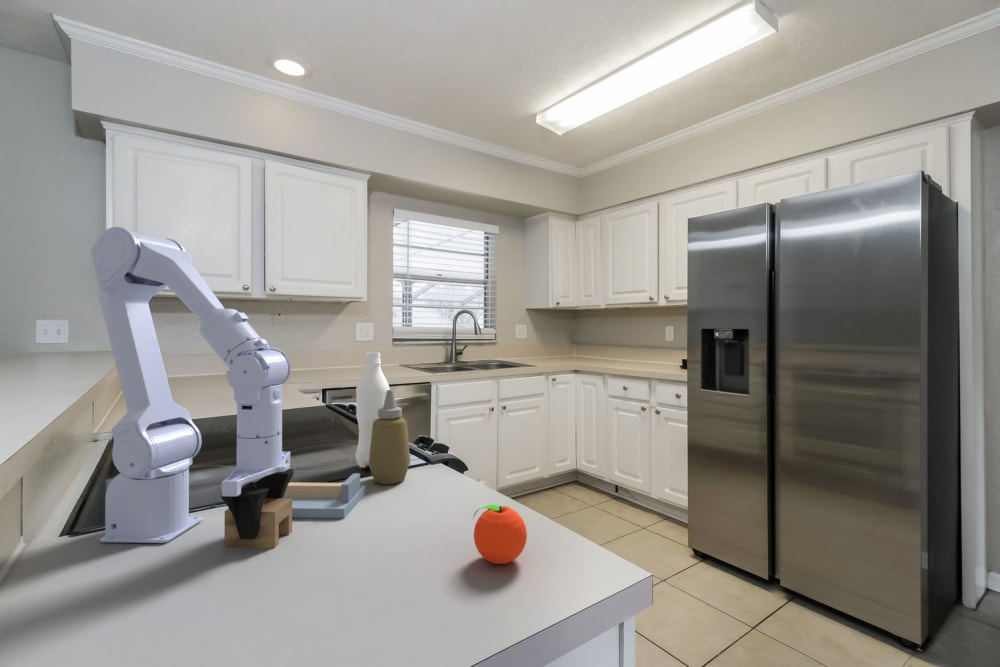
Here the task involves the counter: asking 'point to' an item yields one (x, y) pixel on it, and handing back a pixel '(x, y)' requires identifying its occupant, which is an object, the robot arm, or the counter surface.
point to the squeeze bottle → (389, 444)
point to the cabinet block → (263, 525)
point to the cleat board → (325, 498)
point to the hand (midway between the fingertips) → (259, 529)
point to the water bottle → (369, 404)
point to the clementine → (500, 534)
